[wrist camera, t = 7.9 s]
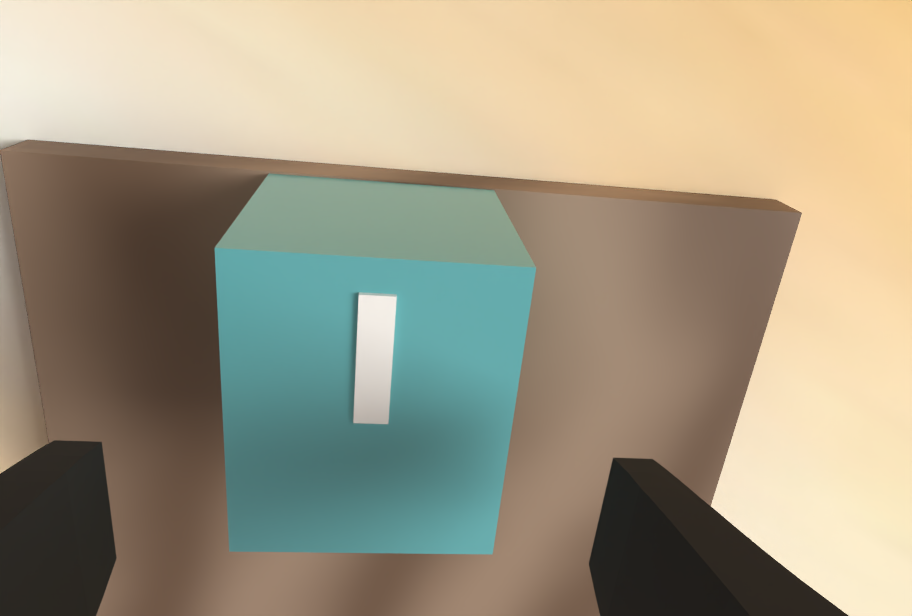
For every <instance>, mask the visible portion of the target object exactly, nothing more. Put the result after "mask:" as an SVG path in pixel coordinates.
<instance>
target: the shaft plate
mask: <svg viewBox="0 0 912 616" xmlns="http://www.w3.org/2000/svg"><path fill="white" fill-rule="evenodd" d="M0 154H1V160H2V166H3V172H4V178H5V184H6V189H7V195H8V201H9V207H10V213H11V219H12V225H13V231H14V237H15V243H16V249H17V255H18V261H19V267H20V273H21V279H22V285H23V291H24V297H25V303H26V309H27V315H28V321H29V327H30V333H31V339H32V345H33V351H34V357H35V363H36V369H37V375H38V381H39V387H40V393H41V399H42V405H43V411H44V417H45V423H46V429H47V435H48V441H49V443H51V442H52V441H54V440H61V441H94V442H102V448H103V456H104V463H105V471H106V479H107V487H108V495H109V503H110V510H111V518H112V526H113V534H114V542H115V550H116V557H117V558H116V561H115V564H114V567H113V570H112V573H111V576H110V579H109V582H108V584H107V587H106V590H105V593H104V596H103V599H102V601H101V604H100V607H99V609H98V612H97V615H96V616H600V613H599V609H598V604H597V600H596V596H595V591H594V586H593V582H592V577H591V572H590V568H589V560H590V556H591V551H592V547H593V543H594V538H595V534H596V530H597V525H598V521H599V516H600V512H601V508H602V503H603V499H604V495H605V490H606V486H607V482H608V477H609V473H610V469H611V464H612V460H613V458H642V459H653V460H655V461H656V462H657V463H659V464H660V465H661V466H663V467H664V468H665V469H667V470H668V471H669V472H670V473H672V474H673V475H674V476H675V477H676V478H678V479H679V480H680V481H681V482H682V483H684V484H685V485H686V486H687V487H688V488H690V489H691V490H692V491H693V492H694V493H695V494H697V495H698V496H699V497H700V498H701V499H702V500H704V501H705V502H706V503H707V504H708V505H710V506H711V503H712V500H713V496H714V493H715V490H716V487H717V484H718V480H719V477H720V474H721V471H722V468H723V464H724V461H725V458H726V455H727V452H728V448H729V445H730V442H731V439H732V436H733V432H734V429H735V426H736V423H737V419H738V416H739V413H740V410H741V407H742V403H743V400H744V397H745V394H746V391H747V387H748V384H749V381H750V378H751V375H752V371H753V368H754V365H755V362H756V359H757V355H758V352H759V349H760V346H761V343H762V339H763V336H764V333H765V330H766V326H767V323H768V320H769V317H770V314H771V310H772V307H773V304H774V301H775V298H776V294H777V291H778V288H779V285H780V282H781V278H782V275H783V272H784V269H785V266H786V262H787V259H788V256H789V253H790V249H791V246H792V243H793V240H794V237H795V233H796V230H797V227H798V224H799V221H800V217H801V214H802V213H801V212H799V211H797V210H795V209H793V208H791V207H789V206H787V205H785V204H783V203H781V202H779V201H777V200H772V199H759V198H747V197H734V196H722V195H709V194H697V193H684V192H672V191H660V190H647V189H635V188H622V187H610V186H597V185H585V184H572V183H560V182H547V181H535V180H523V179H510V178H498V177H485V176H473V175H460V174H448V173H435V172H423V171H410V170H398V169H386V168H373V167H361V166H348V165H336V164H323V163H311V162H298V161H286V160H273V159H261V158H249V157H236V156H224V155H211V154H199V153H186V152H174V151H161V150H149V149H136V148H124V147H112V146H99V145H87V144H74V143H62V142H49V141H37V140H26V141H23V142H21V143H18V144H15V145H13V146H10V147H7V148H5V149H2V150H0ZM269 173H270V174H284V175H297V176H311V177H324V178H338V179H351V180H364V181H378V182H391V183H405V184H418V185H432V186H445V187H459V188H472V189H486V190H494V191H495V193H496V195H497V197H498V198H499V200H500V202H501V204H502V206H503V208H504V209H505V211H506V213H507V215H508V217H509V219H510V220H511V222H512V224H513V226H514V228H515V230H516V231H517V233H518V235H519V237H520V239H521V241H522V242H523V244H524V246H525V248H526V250H527V252H528V253H529V255H530V257H531V259H532V261H533V263H534V264H535V266H536V273H535V279H534V286H533V292H532V299H531V306H530V312H529V319H528V325H527V332H526V338H525V345H524V351H523V358H522V365H521V371H520V378H519V384H518V391H517V397H516V404H515V411H514V417H513V424H512V430H511V437H510V443H509V450H508V456H507V463H506V470H505V476H504V483H503V489H502V496H501V502H500V509H499V515H498V522H497V529H496V535H495V542H494V548H493V554H403V553H313V552H229V535H228V515H227V494H226V474H225V453H224V432H223V412H222V391H221V370H220V350H219V329H218V308H217V288H216V267H215V247H216V245H217V244H218V242H219V241H220V240H221V238H222V237H223V236H224V234H225V233H226V232H227V230H228V229H229V227H230V226H231V225H232V223H233V222H234V221H235V219H236V218H237V216H238V215H239V214H240V212H241V211H242V210H243V208H244V207H245V205H246V204H247V203H248V201H249V200H250V199H251V197H252V196H253V195H254V193H255V192H256V190H257V189H258V188H259V186H260V185H261V184H262V182H263V181H264V179H265V178H266V177H267V175H268V174H269Z"/></svg>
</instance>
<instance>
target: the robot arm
mask: <svg viewBox="0 0 912 616" xmlns="http://www.w3.org/2000/svg"><path fill="white" fill-rule="evenodd" d="M116 558H117V557H116V550H115V542H114V534H113V526H112V518H111V510H110V503H109V495H108V487H107V479H106V471H105V463H104V456H103V448H102V442H94V441H61V440H54V441H52V442H51V443H49V444H47V445H45V446H44V447H42V448H40V449H39V450H37V451H35V452H34V453H32V454H30V455H29V456H27V457H26V458H24V459H23V460H21V461H19V462H18V463H16V464H15V465H13V466H12V467H10V468H9V469H7V470H6V471H4V472H2V473H1V474H0V616H96V615H97V612H98V609H99V607H100V604H101V601H102V599H103V596H104V593H105V590H106V587H107V584H108V582H109V579H110V576H111V573H112V570H113V567H114V564H115V561H116ZM589 568H590V572H591V577H592V582H593V586H594V591H595V596H596V600H597V604H598V609H599V613H600V616H848V615H847V614H845V613H844V612H843V611H841V610H840V609H839V608H837V607H836V606H835V605H833V604H832V603H831V602H829V601H828V600H827V599H825V598H824V597H823V596H821V595H820V594H819V593H817V592H816V591H815V590H813V589H812V588H811V587H809V586H808V585H807V584H805V583H804V582H803V581H801V580H800V579H799V578H797V577H796V576H795V575H794V574H792V573H791V572H790V571H789V570H787V569H786V568H785V567H783V566H782V565H781V564H780V563H778V562H777V561H776V560H775V559H773V558H772V557H771V556H770V555H768V554H767V553H766V552H765V551H763V550H762V549H761V548H760V547H759V546H757V545H756V544H755V543H754V542H752V541H751V540H750V539H749V538H748V537H746V536H745V535H744V534H743V533H742V532H740V531H739V530H738V529H737V528H736V527H734V526H733V525H732V524H731V523H730V522H728V521H727V520H726V519H725V518H724V517H723V516H721V515H720V514H719V513H718V512H717V511H715V510H714V509H713V508H712V507H711V506H710V505H708V504H707V503H706V502H705V501H704V500H702V499H701V498H700V497H699V496H698V495H697V494H695V493H694V492H693V491H692V490H691V489H690V488H688V487H687V486H686V485H685V484H684V483H682V482H681V481H680V480H679V479H678V478H676V477H675V476H674V475H673V474H672V473H670V472H669V471H668V470H667V469H665V468H664V467H663V466H661V465H660V464H659V463H657V462H656V461H655V460H653V459H642V458H613V460H612V464H611V469H610V473H609V477H608V482H607V486H606V490H605V495H604V499H603V503H602V508H601V512H600V516H599V521H598V525H597V530H596V534H595V538H594V543H593V547H592V551H591V556H590V560H589Z"/></svg>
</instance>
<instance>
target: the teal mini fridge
mask: <svg viewBox="0 0 912 616" xmlns="http://www.w3.org/2000/svg"><path fill="white" fill-rule="evenodd" d="M215 267H216V288H217V308H218V329H219V350H220V370H221V391H222V412H223V432H224V453H225V474H226V494H227V515H228V535H229V552H313V553H403V554H493V548H494V542H495V535H496V529H497V522H498V515H499V509H500V502H501V496H502V489H503V483H504V476H505V470H506V463H507V456H508V450H509V443H510V437H511V430H512V424H513V417H514V411H515V404H516V397H517V391H518V384H519V378H520V371H521V365H522V358H523V351H524V345H525V338H526V332H527V325H528V319H529V312H530V306H531V299H532V292H533V286H534V279H535V273H536V266H535V264H534V263H533V261H532V259H531V257H530V255H529V253H528V252H527V250H526V248H525V246H524V244H523V242H522V241H521V239H520V237H519V235H518V233H517V231H516V230H515V228H514V226H513V224H512V222H511V220H510V219H509V217H508V215H507V213H506V211H505V209H504V208H503V206H502V204H501V202H500V200H499V198H498V197H497V195H496V193H495V191H494V190H486V189H472V188H459V187H445V186H432V185H418V184H405V183H391V182H378V181H364V180H351V179H338V178H324V177H311V176H297V175H284V174H270V173H269V174H268V175H267V177H266V178H265V179H264V181H263V182H262V184H261V185H260V186H259V188H258V189H257V190H256V192H255V193H254V195H253V196H252V197H251V199H250V200H249V201H248V203H247V204H246V205H245V207H244V208H243V210H242V211H241V212H240V214H239V215H238V216H237V218H236V219H235V221H234V222H233V223H232V225H231V226H230V227H229V229H228V230H227V232H226V233H225V234H224V236H223V237H222V238H221V240H220V241H219V242H218V244H217V245H216V247H215Z"/></svg>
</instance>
